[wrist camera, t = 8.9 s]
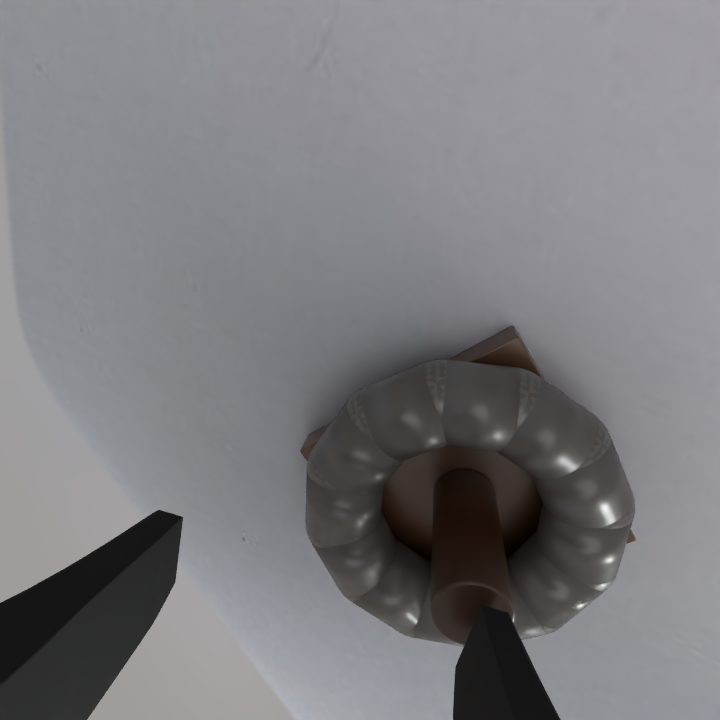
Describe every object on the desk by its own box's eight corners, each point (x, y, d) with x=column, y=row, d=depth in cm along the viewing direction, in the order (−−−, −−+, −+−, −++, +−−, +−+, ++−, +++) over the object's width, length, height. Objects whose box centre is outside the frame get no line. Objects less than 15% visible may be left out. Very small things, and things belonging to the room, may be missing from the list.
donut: (312, 580, 19) (294, 634, 17) (320, 335, 16) (300, 362, 14) (579, 624, 18) (599, 688, 16) (650, 369, 15) (687, 405, 12)
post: (423, 595, 20) (414, 763, 14) (308, 434, 19) (247, 553, 13) (624, 517, 18) (711, 684, 12) (512, 324, 16) (551, 410, 10)
